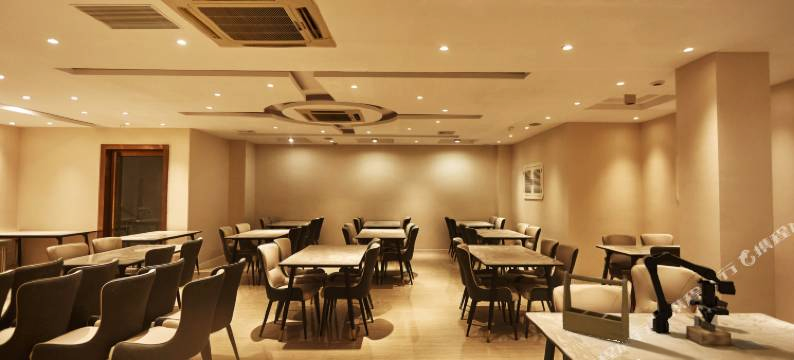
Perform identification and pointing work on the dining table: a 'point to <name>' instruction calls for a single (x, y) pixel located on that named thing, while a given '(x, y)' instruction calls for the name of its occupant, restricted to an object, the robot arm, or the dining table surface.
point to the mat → (747, 345)
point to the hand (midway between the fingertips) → (708, 324)
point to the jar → (715, 318)
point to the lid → (708, 329)
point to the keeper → (697, 321)
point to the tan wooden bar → (693, 316)
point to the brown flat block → (708, 339)
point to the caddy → (595, 313)
